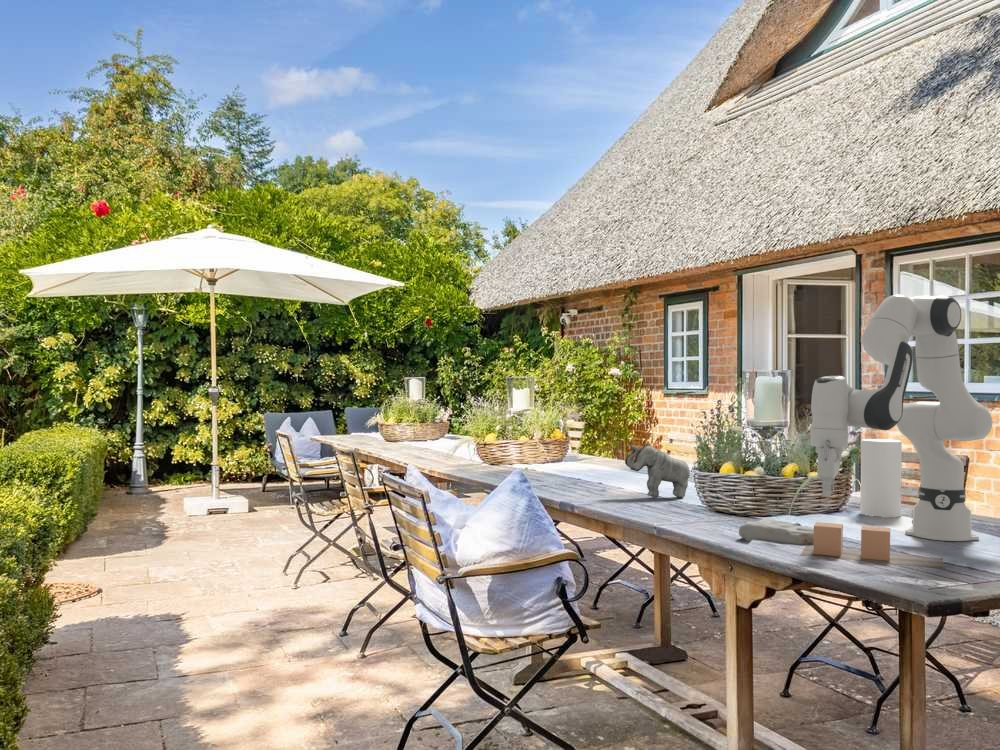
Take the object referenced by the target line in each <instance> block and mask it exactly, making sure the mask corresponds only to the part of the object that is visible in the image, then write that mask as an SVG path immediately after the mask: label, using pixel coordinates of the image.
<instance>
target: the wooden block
mask: <svg viewBox="0 0 1000 750" xmlns="http://www.w3.org/2000/svg"><path fill="white" fill-rule="evenodd" d="M860 531H861V532H860V551H861V558H865V559H876V560H887V561H890V554H891V527H882V526H871V525H862V526H861V529H860Z"/></svg>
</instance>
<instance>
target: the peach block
mask: <svg viewBox="0 0 1000 750" xmlns="http://www.w3.org/2000/svg"><path fill="white" fill-rule="evenodd" d="M813 528H814V544H813V547H814V552H813V554H822V555H833V556H841V555H842V552H843V548H844V544H843V543H844V540H843V538H844V537H843V535H844V533H843V532H844V524H843V523H832V522H819V521H815V523H814V525H813Z"/></svg>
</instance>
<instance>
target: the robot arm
mask: <svg viewBox="0 0 1000 750" xmlns="http://www.w3.org/2000/svg"><path fill="white" fill-rule="evenodd" d="M961 321H962V308H961V306H960V303H959V302H958V301H957V300H956V299H955V298H954V297H951V296H947V295H938V296H935V295H916V296H914V297H913V296H910V297H908V296H905V295H903V294H894V295H890V296H888V297H886V298H885V299H883V300H882V302H881V303H880V304H879V306H878V307H877V308H876V309H875V311H874V312H873V314H872V316H871V318H870V319H869V320H868V323H867V325H866V327H865V329H864V331H863V332H862V333H863V334H862V339H861V342H862V346H863V349H864V351H865V353H867V355H868V356H870V358H871V359H873V360H874V361H877V362H878V363H881V364H883V365H886V366H887V370H886V373H885V377H884V381H883V385H882V386H881V387H879V388H876V389H856V388H853V387H851V386H850V385H849V384H848V381H847V378H846V377H845V376H843V375H828V376H827V375H826V376H821V377H818V378H817V379H815V380H814V383H813V386H812V391H811V392H812V393H811V400H810V401H811V403H810V405H811V406H810V408H811V409H810V410H811V416H812V421H811V425H810V446H811V447H815V453H816V454H818V455H817V479H819V480H821V486H822V487H821V488H822V496H823V497H824V498H829V497H831V495H832V493H834V491H835V481H836V478H835V477H836V476H837V475H838V473H839V472H840V467H841V462H842V461H841V459H842V454H843V449H844V448H849V447H848V446H849V427H853V428H854V427H855V428H867V429H873V430H881V431H890V430H891V429H892V428H894V427H896V426H897V429H898V431H899V432H900V433H901V434H902V435H904V437H905V438H907V439H908V440H909V441H910V443H911V444H912V446H913V448H914V449H915V451H916V453H917V456H918V459H919V460H918V461H919V469H920V470H919V471H920V486H919V488H918V499H919V501H917V502H916V504H915V505H914V506H912V508H913V509H912V510H911V518H912V520H911V524H912V526H910V527H908V528H907V529H906V530H905V532H904V534H905V535H909V536H913V537H918V538H922V539H926V540H935V541H944V542H945V541H946V542H966V541H967V542H968V541H979V540H980V538H979V535H977V534H975V533H973V532H972V530H973V529H972V510H971V509H970V508H969V507H968V506H967V505H966V503H965V502H966V498H967V497H966V495H967V494H966V489H965V488H964V487H965V485H964V483H965V481H964V480H965V477H964V476H965V474H964V473H965V465H964V463H963V461H962V459H961V458H960V457H959V456H958V455H956V454H954V453H952V452H950V451H949V450H948V448H946V445H945V443H944V441H954V442H956V441H957V442H971V441H979V440H985V438H987V436H989V434H990V433H991V430H992V428H993V417H992V415H991V413H990V411H989V409H988V408H987V407H986V406H984V405H982V404H981V403H980V402H978V401H977V400H976V399H975V398H974V397H973V395H971V393H970V392H969V390H968V388H967V387H966V385H965V383H964V380H963V376H962V375H963V374H962V369H961V362H960V351H959V344H958V343H959V342H958V338H957V333H956V330H957V329H958V327H959V325H960V324H961ZM911 337H915V344H914V345H915V348H914V349H915V350H914V351H915V361H916V362H915V363H916V372H917V373H916V377H917V380H918V383H919V385H920V386H921V387H923V388H924V389H925V390H928V391H930V392H931V393H933V394H934V395H935V397H936V398H937V399H938V401H925V400H924V401H922V400H921V401H912V402H907V403H904V400H905V395H906V391H907V387H908V384H909V383H908V382H909V379H910V375H911V370H912V366H913V359H914V355H913V349H912V347H911V345H910V344H909V341H910V338H911Z"/></svg>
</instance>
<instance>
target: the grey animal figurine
mask: <svg viewBox="0 0 1000 750" xmlns="http://www.w3.org/2000/svg"><path fill="white" fill-rule="evenodd" d="M630 446H631V450H632V451H631V452H630V453H629V454H628V455H627V457H626V458H625V460H624V461H625V462H624V463H625V466H627V467H628V468H629V469H630V470H631V471H635V472H639V471H640V470H642V469H643V468H644V467H646V469H647V476H648V479H647V481H646V487H647V490H648V492H647V493H646V494H647V496H650V497H651V498H653V499H655V498H658V497H659V495H660V491H659V486H660V485H661V484H662V481H663V482H667V483H668V482H669V483H672V486H673V488H672V495H673V496H675V497H676V498H680V499H681V498H685V496H686V492H687V488H688V486H689V481H688V480H689V478H690V473H691V472H690V471H691V470H690V467H689V465H688V464H687V463H686V462H685V461H684V460H679V459H677V458H673V457H671V456H670V455H669V454H668V453H666V452H664V451H661V450H658V449H656V448H655V447H654V446H653V445H650V444H649V445H648V444H645V445H643V446H641V448H639V447H638V446H637V445H632V444H631V445H630ZM633 459H634V461H633Z"/></svg>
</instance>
